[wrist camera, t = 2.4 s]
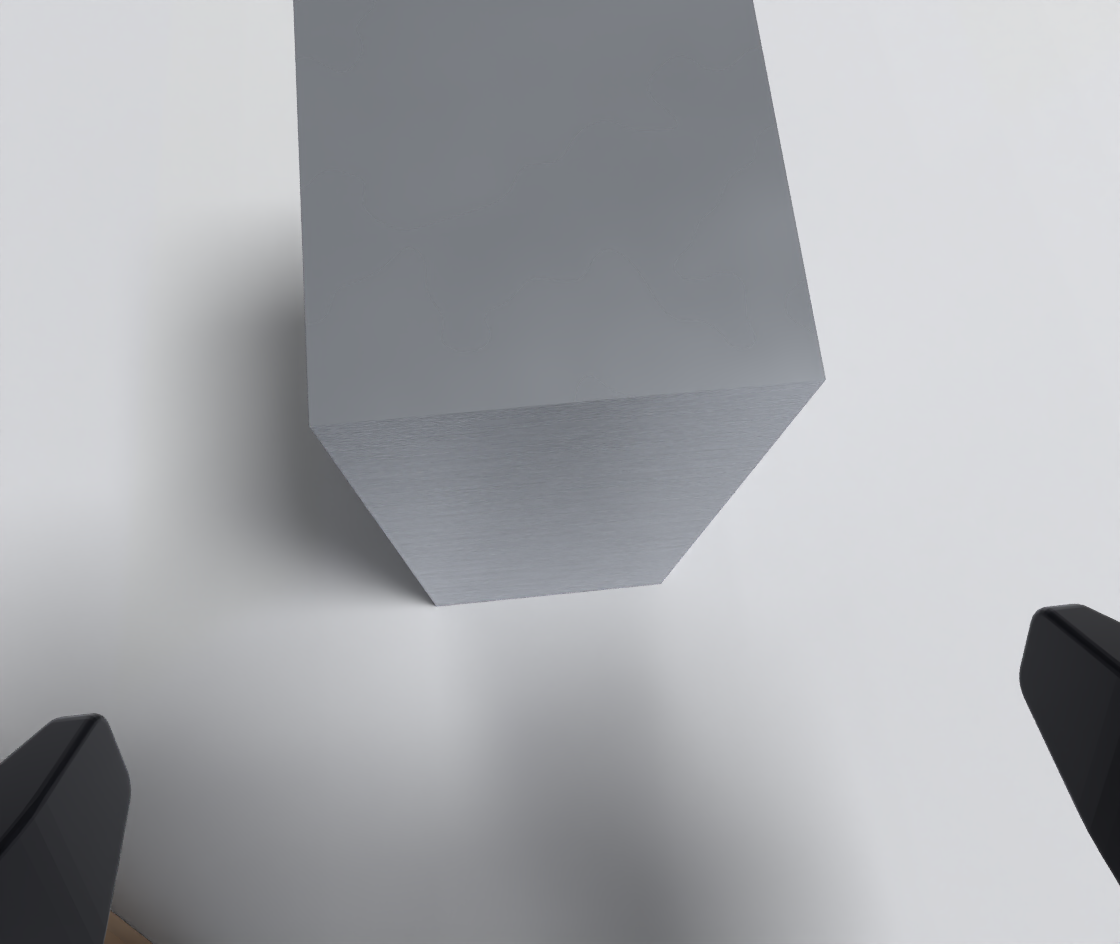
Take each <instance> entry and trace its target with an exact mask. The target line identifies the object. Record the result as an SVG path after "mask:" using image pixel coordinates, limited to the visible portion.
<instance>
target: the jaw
mask: <svg viewBox="0 0 1120 944" xmlns="http://www.w3.org/2000/svg"><path fill="white" fill-rule="evenodd" d="M293 6H294V33H295V60H296V87H297V114H298V141H299V168H300V195H301V222H302V250H303V277H304V304H305V331H306V358H307V385H308V412H309V427H310V428H311V430H312V431H313V433H314V434H315V435H316V437H317V438H318V440H319V441H320V442H321V444H322V445H323V447H324V448H325V450H326V451H327V452H328V454H329V455H330V457H331V458H332V459H333V461H334V462H335V464H336V465H337V466H338V468H339V469H340V471H341V472H342V474H343V475H344V476H345V478H346V479H347V481H348V482H349V483H350V485H351V486H352V488H353V489H354V491H355V492H356V493H357V495H358V496H359V498H360V499H361V500H362V502H363V503H364V505H365V506H366V508H367V509H368V510H369V512H370V513H371V515H372V516H373V517H374V519H375V520H376V522H377V523H378V524H379V526H380V527H381V529H382V530H383V532H384V533H385V534H386V536H387V537H388V539H389V540H390V541H391V543H392V544H393V546H394V547H395V549H396V550H397V551H398V553H399V554H400V556H401V557H402V558H403V560H404V561H405V563H406V564H407V565H408V567H409V568H410V570H411V571H412V573H413V574H414V575H415V577H416V578H417V580H418V581H419V582H420V584H421V585H422V587H423V588H424V590H425V591H426V592H427V594H428V595H429V597H430V598H431V599H432V601H433V602H434V604H435V605H436V606H446V605H456V604H466V603H476V602H486V601H496V600H506V599H515V598H525V597H535V596H545V595H555V594H565V593H575V592H585V591H594V590H604V589H614V588H624V587H634V586H644V585H654V584H661V583H662V582H663V580H664V579H665V578H666V577H667V575H668V574H669V573H670V572H671V570H672V569H673V568H674V567H675V566H676V564H677V563H678V562H679V561H680V559H681V558H682V557H683V556H684V554H685V553H686V552H687V551H688V549H689V548H690V547H691V546H692V544H693V543H694V542H695V541H696V540H697V538H698V537H699V536H700V535H701V533H702V532H703V531H704V530H705V528H706V527H707V526H708V525H709V523H710V522H711V521H712V520H713V519H714V517H715V516H716V515H717V514H718V512H719V511H720V510H721V509H722V507H723V506H724V505H725V504H726V502H727V501H728V500H729V499H730V497H731V496H732V495H733V494H734V493H735V491H736V490H737V489H738V488H739V486H740V485H741V484H742V483H743V481H744V480H745V479H746V478H747V476H748V475H749V474H750V473H751V471H752V470H753V469H754V468H755V467H756V465H757V464H758V463H759V462H760V460H761V459H762V458H763V457H764V455H765V454H766V453H767V452H768V450H769V449H770V448H771V447H772V445H773V444H774V443H775V442H776V441H777V439H778V438H779V437H780V436H781V434H782V433H783V432H784V431H785V429H786V428H787V427H788V426H789V424H790V423H791V422H792V421H793V419H794V418H795V417H796V416H797V415H798V413H799V412H800V411H801V410H802V408H803V407H804V406H805V405H806V403H807V402H808V401H809V400H810V398H811V397H812V396H813V395H814V393H815V392H816V391H817V390H818V389H819V387H820V386H821V385H822V384H823V382H824V381H825V380H826V378H825V373H824V368H823V363H822V357H821V352H820V347H819V342H818V337H817V331H816V326H815V321H814V316H813V311H812V305H811V300H810V295H809V290H808V285H807V279H806V274H805V269H804V264H803V259H802V253H801V248H800V243H799V238H798V233H797V227H796V222H795V217H794V212H793V207H792V201H791V196H790V191H789V186H788V181H787V176H786V170H785V165H784V160H783V155H782V150H781V144H780V139H779V134H778V129H777V124H776V118H775V113H774V108H773V103H772V98H771V92H770V87H769V82H768V77H767V72H766V66H765V61H764V56H763V51H762V46H761V40H760V35H759V30H758V25H757V20H756V14H755V9H754V4H753V0H293Z"/></svg>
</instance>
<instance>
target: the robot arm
mask: <svg viewBox="0 0 1120 944" xmlns="http://www.w3.org/2000/svg"><path fill="white" fill-rule="evenodd" d="M1019 680H1020V687H1021V690H1022V694H1023V696H1024V699H1025V701H1026V703H1027V705H1028V707H1029V709H1030V711H1031V714H1032V716H1033V718H1034V720H1035V722H1036V724H1037V726H1038V728H1039V730H1040V733H1041V735H1042V737H1043V739H1044V741H1045V743H1046V745H1047V747H1048V750H1049V752H1050V754H1051V756H1052V758H1053V760H1054V762H1055V764H1056V767H1057V769H1058V771H1059V773H1060V775H1061V777H1062V779H1063V781H1064V784H1065V786H1066V788H1067V790H1068V792H1069V794H1070V796H1071V798H1072V800H1073V803H1074V805H1075V807H1076V809H1077V811H1078V813H1079V815H1080V817H1081V819H1082V821H1083V823H1084V825H1085V827H1086V829H1087V831H1088V833H1089V834H1090V836H1091V838H1092V840H1093V841H1094V843H1095V845H1096V846H1097V848H1098V850H1099V852H1100V853H1101V855H1102V857H1103V859H1104V860H1105V862H1106V864H1107V865H1108V867H1109V868H1110V870H1111V872H1112V873H1113V875H1114V877H1115V878H1116V880H1117V882H1118V883H1119V885H1120V622H1118V621H1116V620H1114V619H1112V618H1110V617H1108V616H1106V615H1103V614H1101V613H1099V612H1097V611H1095V610H1093V609H1091V608H1089V607H1087V606H1084V605H1080V604H1067V605H1059V606H1050V607H1043V608H1041V609H1039V610H1037V611H1036V613H1035V614H1034V615H1033V617H1032V620H1031V623H1030V628H1029V632H1028V636H1027V640H1026V645H1025V649H1024V653H1023V658H1022V662H1021V666H1020V673H1019ZM130 796H131V786H130V778H129V774H128V771H127V769H126V766H125V764H124V761H123V758H122V756H121V753H120V751H119V748H118V746H117V743H116V741H115V738H114V736H113V733H112V731H111V728H110V726H109V724H108V722H107V720H106V719H105V718H104V717H103V716H102V715H99V714H95V713H92V714H83V715H74V716H65V717H60V718H56V719H54V720H52V721H51V722H49V723H48V724H47V725H45V726H44V727H43V728H42V729H41V730H39V731H38V732H37V733H36V734H35V735H33V736H32V737H31V738H30V739H29V740H27V741H26V742H25V743H24V744H23V745H22V746H20V747H19V748H18V749H17V750H16V751H14V752H13V753H12V754H11V755H10V756H8V757H7V758H6V759H5V760H4V761H3V762H1V763H0V944H104V940H105V935H106V930H107V925H108V919H109V914H110V908H111V903H112V897H113V892H114V886H115V881H116V875H117V870H118V864H119V859H120V853H121V848H122V843H123V837H124V832H125V826H126V821H127V815H128V810H129V804H130Z"/></svg>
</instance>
